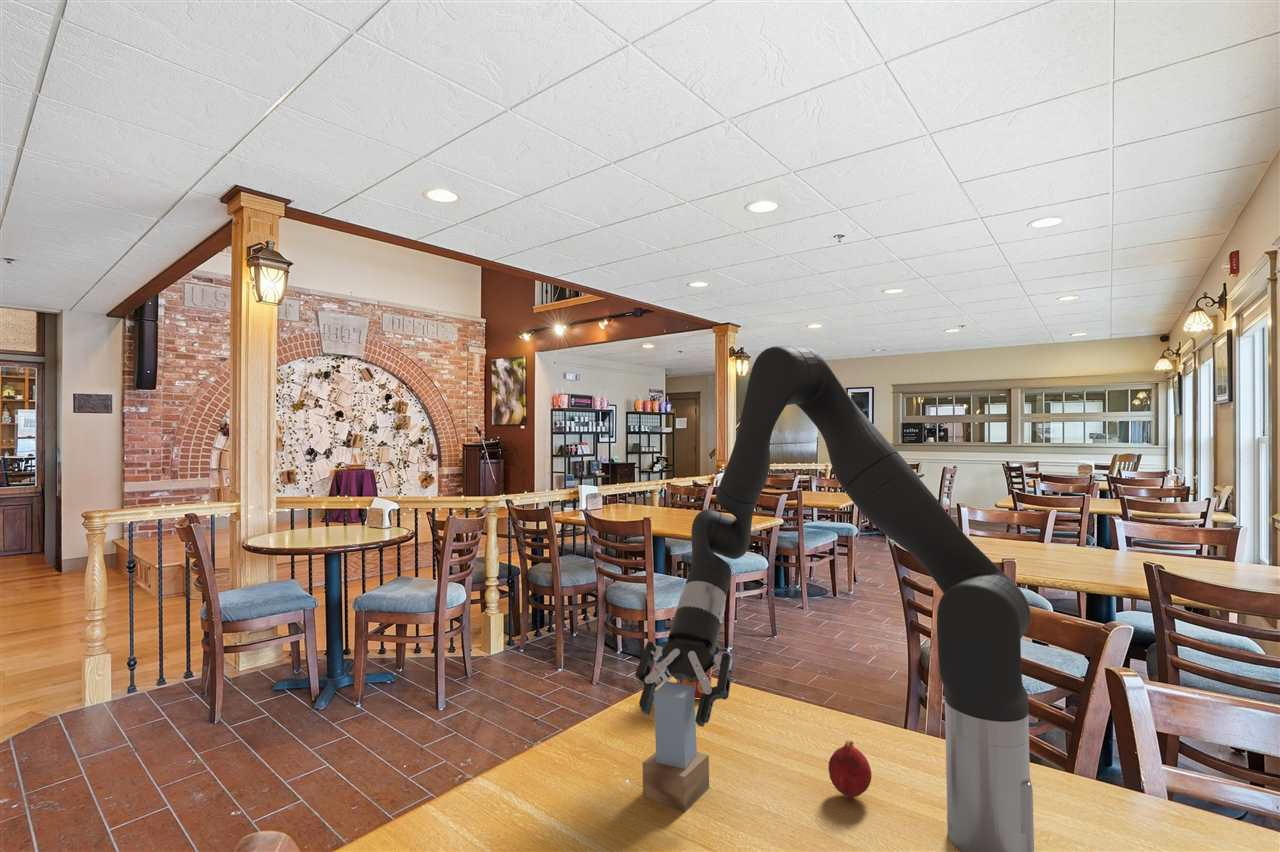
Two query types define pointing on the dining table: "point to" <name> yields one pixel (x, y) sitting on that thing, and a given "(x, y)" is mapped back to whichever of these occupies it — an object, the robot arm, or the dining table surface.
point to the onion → (849, 770)
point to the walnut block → (676, 782)
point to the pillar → (675, 724)
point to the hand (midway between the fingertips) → (671, 718)
